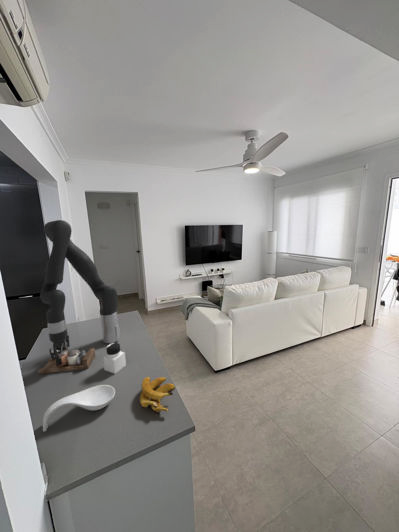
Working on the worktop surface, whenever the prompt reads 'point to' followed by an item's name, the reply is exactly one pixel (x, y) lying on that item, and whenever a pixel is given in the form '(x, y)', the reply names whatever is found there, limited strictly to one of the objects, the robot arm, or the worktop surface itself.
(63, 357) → the terracotta jar
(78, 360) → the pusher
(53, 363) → the lane
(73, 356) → the cream jar
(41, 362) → the worktop surface
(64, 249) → the robot arm
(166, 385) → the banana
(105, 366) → the medicine bottle
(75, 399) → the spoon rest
